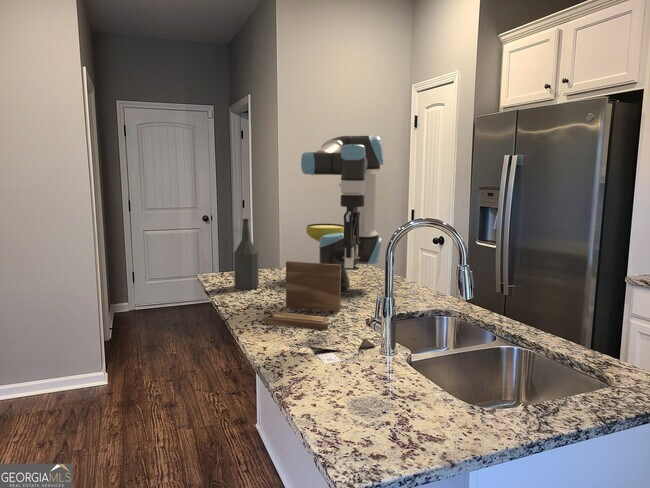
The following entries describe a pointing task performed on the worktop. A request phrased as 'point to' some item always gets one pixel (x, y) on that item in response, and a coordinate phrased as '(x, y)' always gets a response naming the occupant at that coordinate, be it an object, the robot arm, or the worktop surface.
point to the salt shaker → (356, 258)
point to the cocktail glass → (323, 230)
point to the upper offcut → (300, 317)
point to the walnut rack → (311, 291)
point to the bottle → (246, 262)
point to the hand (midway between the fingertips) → (351, 265)
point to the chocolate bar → (364, 345)
